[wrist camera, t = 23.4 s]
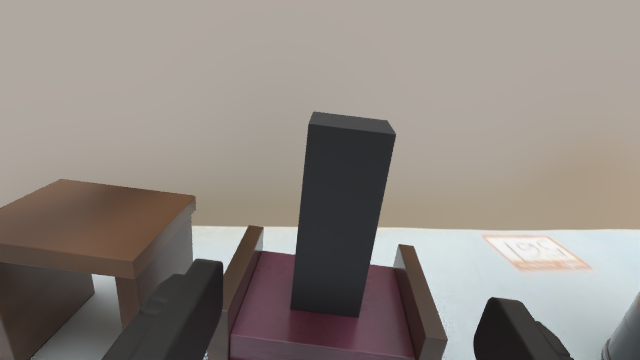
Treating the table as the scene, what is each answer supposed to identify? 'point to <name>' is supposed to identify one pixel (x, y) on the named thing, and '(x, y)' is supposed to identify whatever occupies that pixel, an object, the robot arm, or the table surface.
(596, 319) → the table surface
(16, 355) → the walnut shelf
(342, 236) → the slim remote
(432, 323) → the cushioned bench
